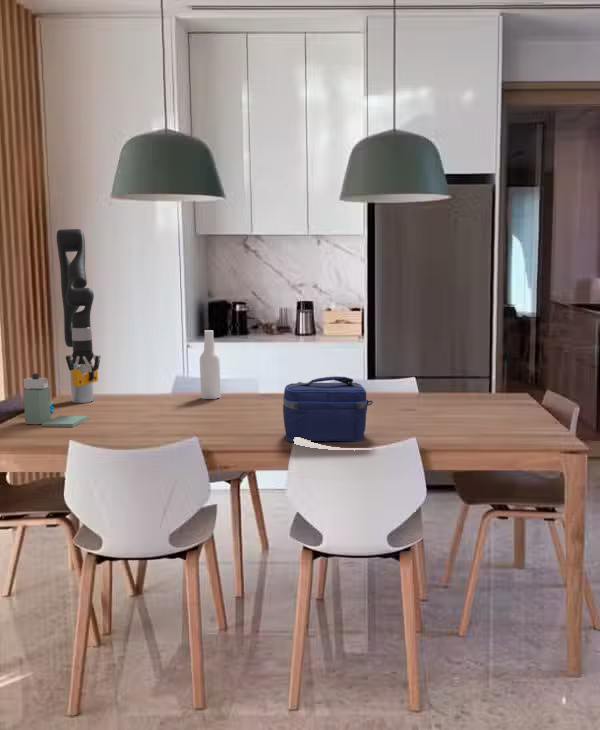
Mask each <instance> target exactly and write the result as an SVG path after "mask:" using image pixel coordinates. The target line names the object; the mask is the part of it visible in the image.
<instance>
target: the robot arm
mask: <svg viewBox="0 0 600 730" xmlns="http://www.w3.org/2000/svg"><path fill="white" fill-rule="evenodd" d="M56 245H57V252H58V261H59V268H60V286H61V287H60V289H61V299H62V305H63V325H64V326H63V327H64V328H63V331H64V334H63V335H64V341H65V342H64V343H65V345H66V347H68V348H72V354H69V355H66V356H65V360H66V363H67V367H68V370H69V374H70V375H69V376H70V377H69V378H70V393H71V403H75V404H85V403H91V401H92V402H93V401H94V382H93V383H89V384H86V385H82V386H78V387H77V386H73V382H72V370H73V369H80V371H81V374H82V375H83V374H85V373H88V370H89V381H93V380H94V371H96V370H97V371H98V370H99V367H100V362H101V355H99V354H98V355H96V354H94V352H93V334H92V328H91V313H92V312H91V311H92V306H93V303H94V298H95V297H94V296H95V295H94V291H93V290H92V288H89V287H86V286H87V284H88V280H87V274H86V273H87V272H86V238H85V233H84V231H83V230H82V229H80V228H67V229H65V228H64V229H63V228H62V229H58V230H57V232H56ZM72 252H74V253H75V252H76V254H75V256H74V258H72V260H71V261H70V260H69V258H68V256H67V253H72ZM80 307H84V308H83V309H81V310H80V311H78V310H79V308H80ZM92 359H93V360H94V364H93V362H92ZM93 365H94V368H93Z"/></svg>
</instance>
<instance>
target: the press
mask: <svg viewBox="0 0 600 730" xmlns="http://www.w3.org/2000/svg"><path fill="white" fill-rule="evenodd" d="M50 400H51V399H50V387H49V386H48V387H46V388H26V389H25V390H23V402H24V403H23V405H24V407H23V408H24V420H25V422H24V423H25V425H26V424H42V425H41V426H55V427H54V428H74V427H76V426H77V424H78V425H80V424H82V423H83V422H85V421H87V420H89V415H58V416H55V417H53V418H52V415H51V414H52V413H50V402H51V401H50ZM81 422H82V423H81ZM79 423H80V424H79ZM75 425H76V426H75ZM60 426H61V427H60Z"/></svg>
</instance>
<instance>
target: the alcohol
mask: <svg viewBox="0 0 600 730" xmlns="http://www.w3.org/2000/svg"><path fill="white" fill-rule="evenodd" d="M214 334H215V333H214V330H211V329H209V330H208V329H207V330H206V329H205V330H204V344H203V347H204V348H203V352H202V353H201V354H200V356H199V377H200V378H199V379H200V380H199V381H200V397H201V399H202V400H205V399H214V400H218V399H217V398H219V399H221V397H222V393H221V392H222V390H221V389H222V387H221V357H220V356H219V354H218V352H217V351H216V348H215V339H214Z"/></svg>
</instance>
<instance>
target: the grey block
mask: <svg viewBox="0 0 600 730" xmlns="http://www.w3.org/2000/svg"><path fill="white" fill-rule="evenodd" d="M39 375H40V373H39V372H33V373H31V377H26V378H24V379H23V389H30V388H46V387H49V378H48V377H40V376H39Z"/></svg>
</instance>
